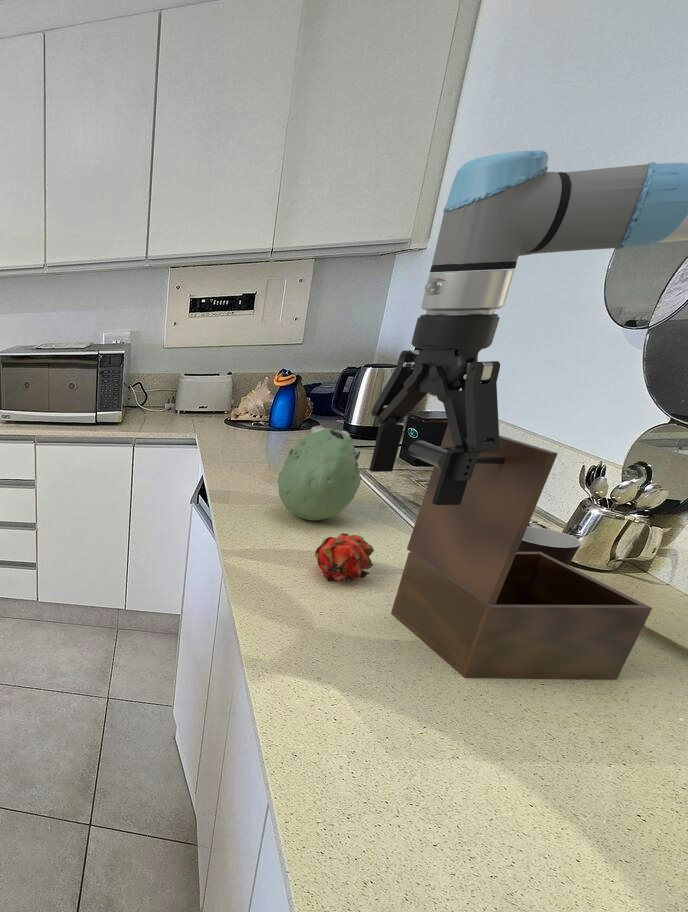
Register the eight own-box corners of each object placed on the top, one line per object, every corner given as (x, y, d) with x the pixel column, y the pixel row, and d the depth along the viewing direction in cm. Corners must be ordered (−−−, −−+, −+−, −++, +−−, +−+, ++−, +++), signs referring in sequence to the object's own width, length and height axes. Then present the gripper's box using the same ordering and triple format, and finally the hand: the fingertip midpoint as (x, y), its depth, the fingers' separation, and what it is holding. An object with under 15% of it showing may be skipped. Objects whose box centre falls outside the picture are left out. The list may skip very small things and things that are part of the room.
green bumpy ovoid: (273, 528, 125) (289, 437, 117) (270, 500, 140) (284, 418, 132) (358, 537, 118) (381, 442, 111) (344, 507, 134) (364, 421, 126)
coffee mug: (570, 597, 94) (593, 541, 90) (538, 608, 91) (561, 551, 87) (488, 568, 104) (506, 517, 100) (457, 578, 101) (475, 526, 97)
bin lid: (455, 421, 79) (390, 421, 80) (558, 453, 64) (477, 452, 65) (412, 549, 87) (353, 548, 88) (495, 604, 72) (423, 602, 73)
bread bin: (516, 613, 90) (540, 551, 86) (616, 679, 75) (652, 608, 71) (390, 613, 92) (408, 552, 88) (464, 677, 77) (490, 607, 72)
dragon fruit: (351, 572, 108) (331, 604, 101) (315, 540, 110) (292, 569, 103) (391, 548, 102) (372, 581, 95) (351, 514, 104) (330, 544, 97)
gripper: (365, 309, 79) (332, 460, 87) (507, 319, 56) (444, 521, 64) (423, 307, 78) (385, 459, 86) (592, 315, 55) (517, 521, 64)
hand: (410, 486), depth 75 cm, fingers open, 13 cm apart
